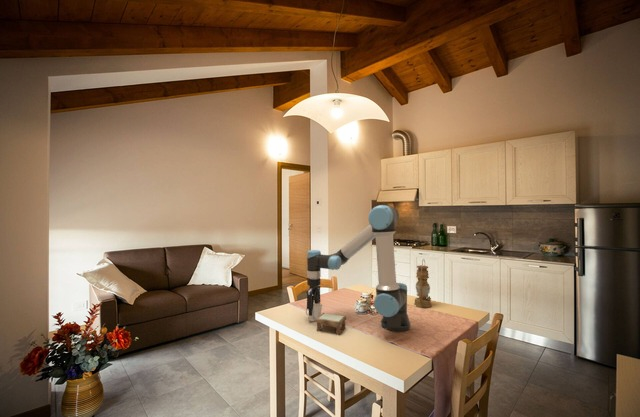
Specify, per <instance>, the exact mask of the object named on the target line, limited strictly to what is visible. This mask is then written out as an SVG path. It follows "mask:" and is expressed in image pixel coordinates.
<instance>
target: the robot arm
mask: <svg viewBox="0 0 640 417" xmlns="http://www.w3.org/2000/svg"><path fill="white" fill-rule="evenodd" d="M367 219H368V223H369V224H368V225H367V226H366V227H365V228H364V229H362V230H361V231H360V232H358V234H357V235H356V236H354V237H353V238H352V239H351V240H349V241H348V243H345V245H344V246H343V247H341V248H340V249H339V250H338V251H337V252H334V253H331V254H321V253H322V252H321V251H320V250H318V249H311V250H307V254H306V256H307V257H306V262H307V263H306V265H307V266H306V267H307V269H306V270H307V271H306V274H307V275H306V277H307V279H306V281H307V282H306V283H307V286H308V287H309V288H308V290H307V291H306V308H307V310H308V315H309V316H308V321H309V322H315V321H314V309H313V304H314V303H317V304H321V277H322V275H321V274H322V272H321V270H322V269H325V270H326V269H327V270H331V271H333V270H336V271H338V270H339V269H340V268H341V267H342V266H343V265H345V264H347V263H348V261H349V260H350V259H351V258H353V256H355V255H356V254H358V252H360V251H361V250H362V249H363V248H364V247H366V246H367V245H368V244H369V243H371V241H373V240H374V239H375V247H376V263H377V264H376V265H377V279H378V283H377V285H376V286H375V290H376V291H375V294H376V295H375V297H374V300H373V307H374V309H375V311H376V312H377V313H378V314H379V315H380V316H381V320H380V325H381V326H380V327H382V328H383V329H384V330H385V329H386V330H388V331H391V332H406V331H408V330H410V329H411V321H410V318H409V315H408V286H407V285H406V283H401V282H397V275H396V274H397V273H396V262H395V261H396V260H395V258H396V257H395V248H394V247H395V245H394V234H396V232H397V229H396V228H397V226H396V225H397V224H398V222H399V220H400V213H399V211H398V210H397V208H396V207H395V206H392V205H390V204H389V205H385V204H381V205H376V206H374V207H373V208H372V209H371V210H370V211H369V213H368V217H367Z"/></svg>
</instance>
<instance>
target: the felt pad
mask: <svg viewBox="0 0 640 417" xmlns="http://www.w3.org/2000/svg"><path fill="white" fill-rule="evenodd" d="M323 313H324V314H323ZM323 313H322V314H323V315H322V314H321V315H322V316H321V317H320V318H319V319H322V320H329V321H335V322H340V320H341V319H342V318H343V317H344V316H345V315H340V314H333V315H332V313H327V314H326V312H323ZM339 315H340V316H339Z"/></svg>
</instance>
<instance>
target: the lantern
mask: <svg viewBox="0 0 640 417" xmlns="http://www.w3.org/2000/svg"><path fill="white" fill-rule="evenodd" d="M423 263H426V261H425V259H422V260H421V264H419V265H416V268H417V270H416V276H415V277H416V278H417V282H416V283H415V290H416V296H417V297H416V298H415V299H414V306H415V305H416V306H415V307H417V306H418V307H417V308H421V307H429V308H431V307H432V303H431V301H432V298H431V297H430V296H429V294H430V293H431V292H430V291H431V285H430V284H429V281H428V279H429V278H430V276H429V270H428V269H429V266H427V265H424V264H423Z"/></svg>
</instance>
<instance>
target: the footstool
mask: <svg viewBox="0 0 640 417" xmlns="http://www.w3.org/2000/svg"><path fill="white" fill-rule="evenodd" d="M324 313H326V312H322V313H321V315H320V316H319V317H318V318H317V319H316V321H315V323H316V331H317V332H321V331H322V326H325V327H327V326H328V327H333V328H336V335H341V330H345V329H346V320H347V316H345V315H343V316H344V317H343V318H342V319H341V320H340V322H335V321H329V320H322V319H319V318H320V317H321V316H322V315H323V314H324ZM326 314H328V313H326ZM331 314H332V313H331ZM332 315H334V313H333V314H332ZM338 315H339V316H341V315H340V314H338Z"/></svg>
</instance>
